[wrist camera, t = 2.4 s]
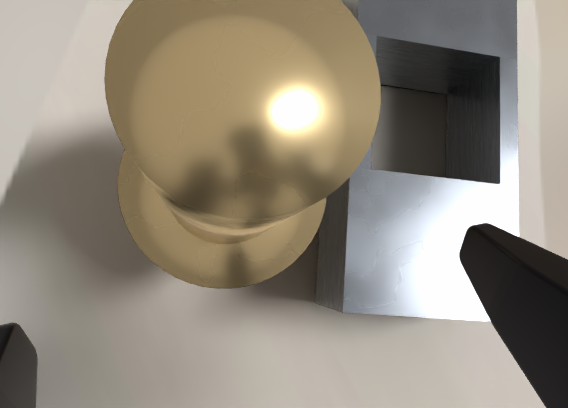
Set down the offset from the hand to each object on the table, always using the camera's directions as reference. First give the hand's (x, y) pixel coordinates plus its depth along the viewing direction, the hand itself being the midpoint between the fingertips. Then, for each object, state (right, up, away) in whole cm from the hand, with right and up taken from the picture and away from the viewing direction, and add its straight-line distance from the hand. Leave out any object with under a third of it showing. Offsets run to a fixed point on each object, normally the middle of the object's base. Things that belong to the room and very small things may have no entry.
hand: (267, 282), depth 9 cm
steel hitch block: (+6, +4, +12) cm, 14 cm away
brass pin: (-2, +2, +10) cm, 11 cm away
